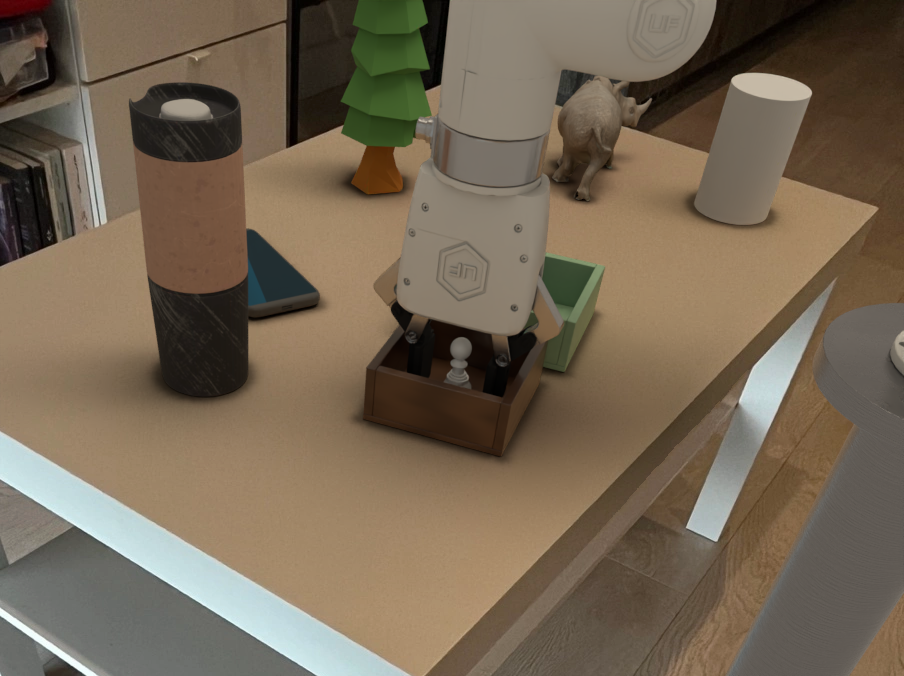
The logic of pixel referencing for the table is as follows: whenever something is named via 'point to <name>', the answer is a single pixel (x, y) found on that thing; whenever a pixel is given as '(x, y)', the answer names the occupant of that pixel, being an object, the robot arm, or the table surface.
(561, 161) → the rhinoceros figurine
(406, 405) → the walnut bin
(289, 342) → the table surface
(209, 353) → the travel mug
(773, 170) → the white closed cylinder
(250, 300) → the smartphone
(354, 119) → the decorative tree
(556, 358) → the sage bin
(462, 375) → the chess pawn
